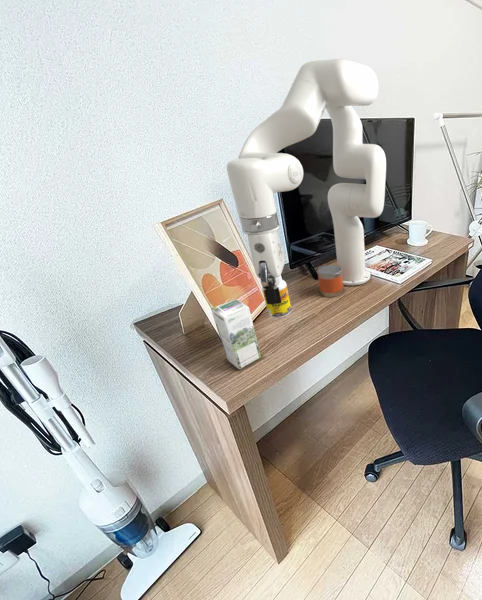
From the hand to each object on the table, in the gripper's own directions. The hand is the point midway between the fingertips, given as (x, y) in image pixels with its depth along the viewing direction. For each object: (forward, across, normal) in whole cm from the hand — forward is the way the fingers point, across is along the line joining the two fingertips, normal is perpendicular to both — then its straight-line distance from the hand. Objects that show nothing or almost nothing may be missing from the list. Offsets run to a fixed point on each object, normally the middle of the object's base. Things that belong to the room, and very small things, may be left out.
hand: (276, 295), depth 78 cm
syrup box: (+12, -8, +8) cm, 17 cm away
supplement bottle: (+5, 0, 0) cm, 5 cm away
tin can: (+13, +23, -12) cm, 29 cm away
